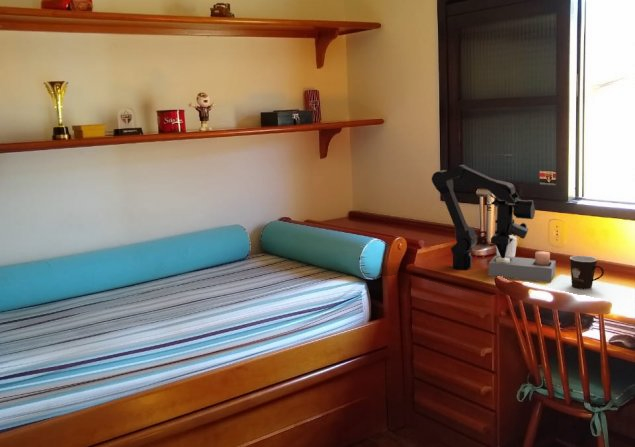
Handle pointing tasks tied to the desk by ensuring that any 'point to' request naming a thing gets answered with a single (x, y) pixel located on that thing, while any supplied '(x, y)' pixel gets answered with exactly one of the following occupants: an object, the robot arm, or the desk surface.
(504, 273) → the grey rectangular block
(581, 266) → the coffee mug
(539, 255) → the terracotta button
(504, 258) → the white short cylinder
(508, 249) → the white cup
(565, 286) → the desk surface
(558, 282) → the desk surface
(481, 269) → the desk surface
